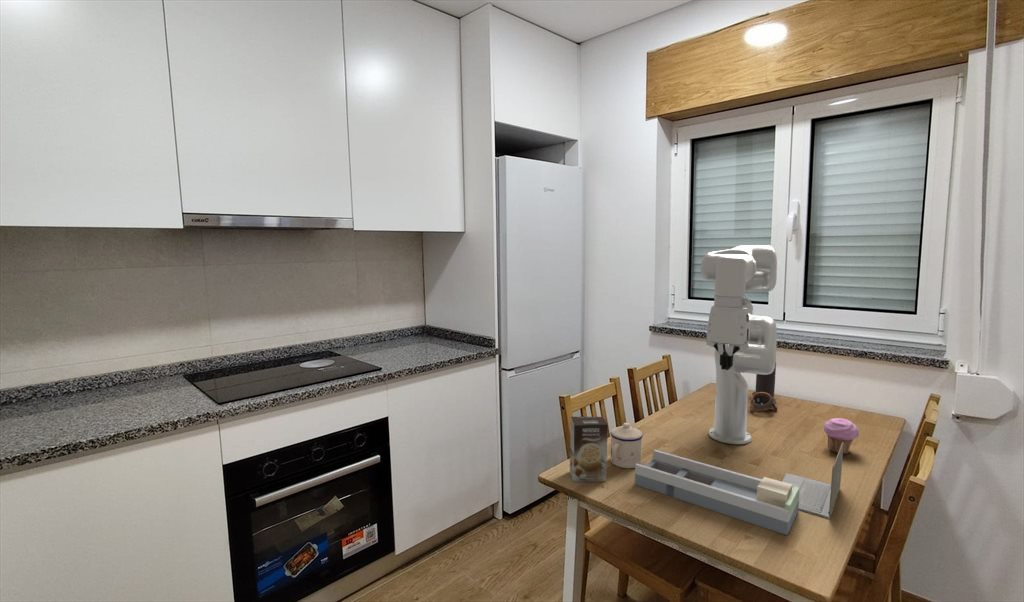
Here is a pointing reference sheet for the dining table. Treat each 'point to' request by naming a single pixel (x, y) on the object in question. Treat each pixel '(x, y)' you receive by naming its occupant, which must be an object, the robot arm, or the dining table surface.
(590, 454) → the coffee box
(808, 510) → the laptop
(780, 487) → the block
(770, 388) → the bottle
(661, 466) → the channel
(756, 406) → the pottery mug
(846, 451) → the cupcake
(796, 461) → the dining table surface
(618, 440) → the teacup with lid
